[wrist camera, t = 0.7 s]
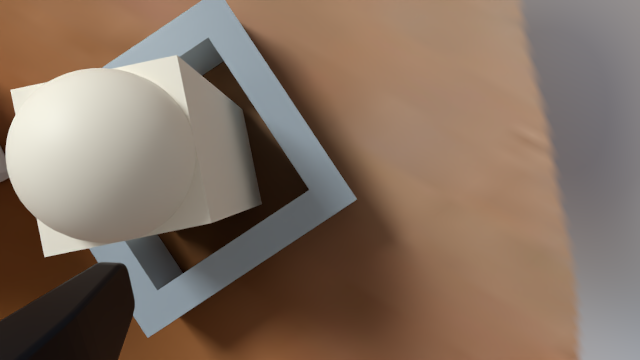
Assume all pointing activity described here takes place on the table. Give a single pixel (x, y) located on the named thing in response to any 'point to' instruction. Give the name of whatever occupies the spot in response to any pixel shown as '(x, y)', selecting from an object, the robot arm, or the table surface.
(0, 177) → the medicine bottle
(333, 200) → the blue square ring
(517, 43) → the table surface
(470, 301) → the table surface
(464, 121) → the table surface
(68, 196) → the cream egg block
